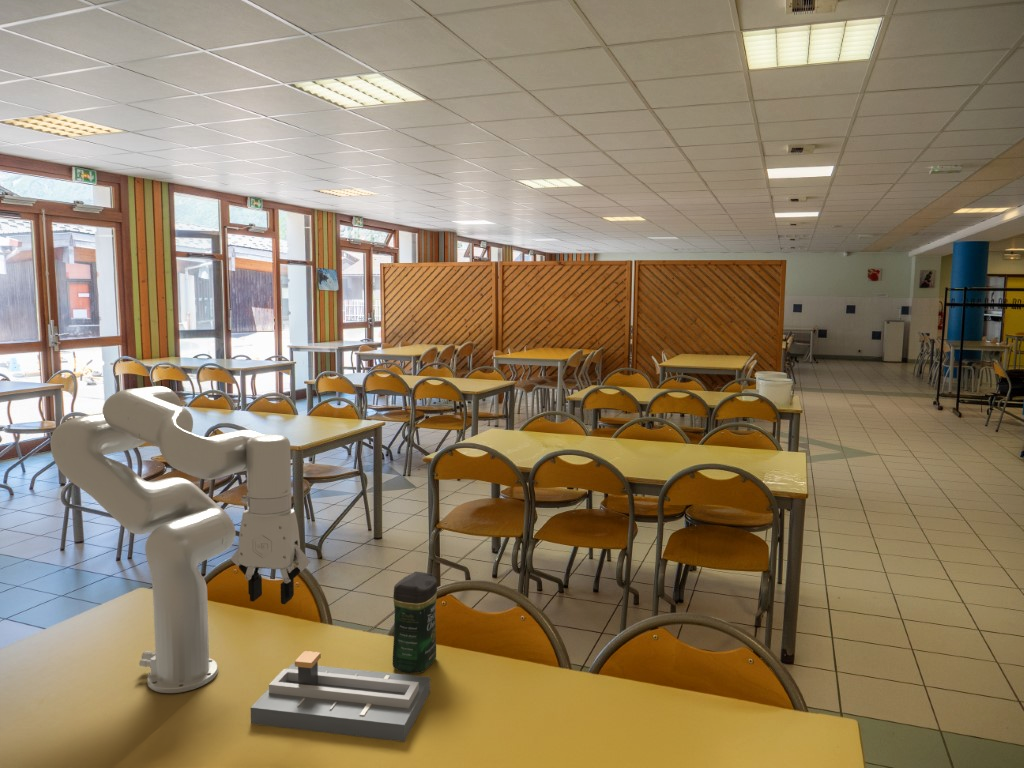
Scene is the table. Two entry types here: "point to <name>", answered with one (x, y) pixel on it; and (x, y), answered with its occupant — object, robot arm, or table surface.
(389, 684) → the console
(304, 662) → the fader
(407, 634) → the coffee jar
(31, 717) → the table surface
